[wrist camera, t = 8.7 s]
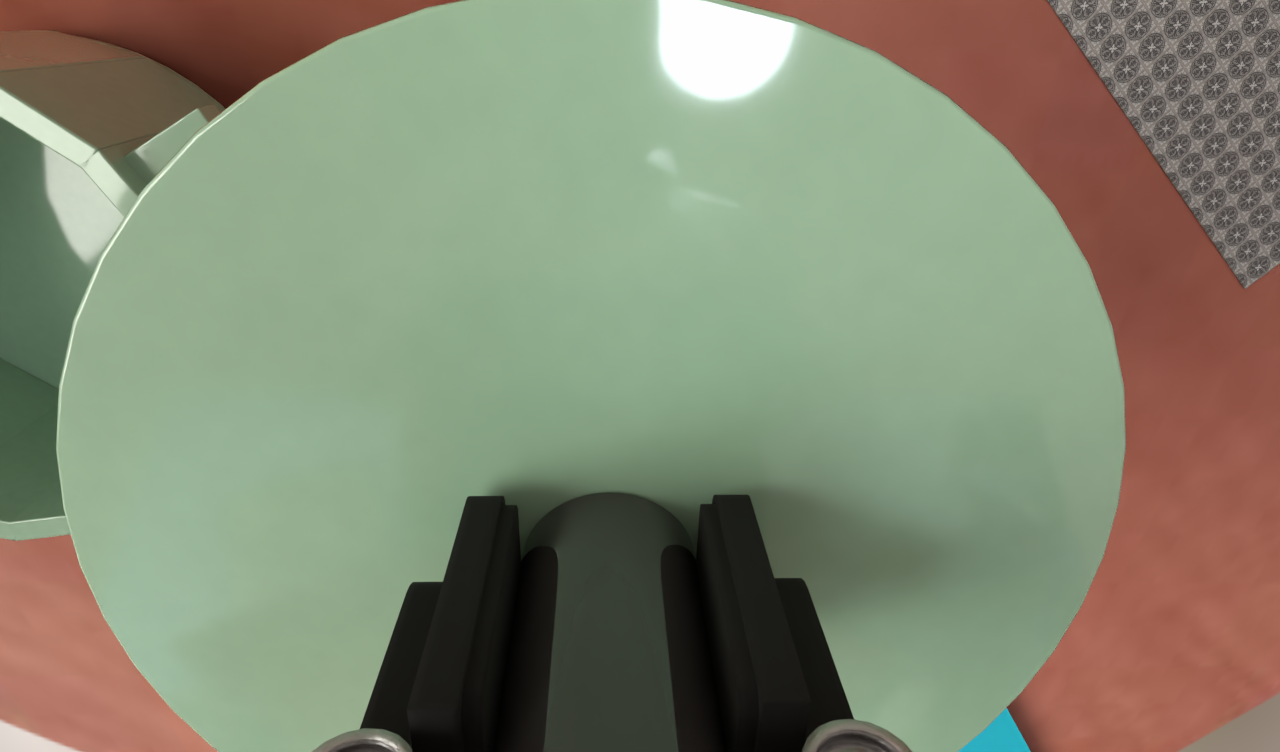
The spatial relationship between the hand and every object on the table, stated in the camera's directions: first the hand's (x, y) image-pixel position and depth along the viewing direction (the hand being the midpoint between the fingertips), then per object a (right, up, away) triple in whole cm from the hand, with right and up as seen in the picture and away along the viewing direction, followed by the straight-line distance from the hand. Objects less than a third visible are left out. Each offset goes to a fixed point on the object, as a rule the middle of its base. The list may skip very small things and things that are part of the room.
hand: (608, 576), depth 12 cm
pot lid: (0, 0, +1) cm, 1 cm away
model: (+24, +20, +15) cm, 35 cm away
